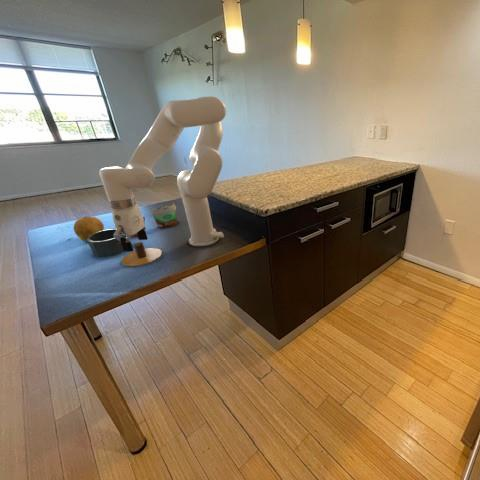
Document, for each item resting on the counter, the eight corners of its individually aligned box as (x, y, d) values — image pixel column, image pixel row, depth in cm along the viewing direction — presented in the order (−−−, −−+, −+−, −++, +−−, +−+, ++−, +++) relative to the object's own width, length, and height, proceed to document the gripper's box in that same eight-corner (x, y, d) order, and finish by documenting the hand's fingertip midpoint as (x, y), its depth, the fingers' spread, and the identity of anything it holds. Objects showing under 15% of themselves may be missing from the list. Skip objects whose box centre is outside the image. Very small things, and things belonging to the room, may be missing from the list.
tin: (137, 243, 115) (131, 228, 112) (119, 258, 104) (112, 241, 101) (107, 244, 115) (101, 228, 111) (86, 258, 103) (78, 242, 100)
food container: (162, 231, 127) (156, 211, 122) (155, 228, 130) (149, 209, 125) (185, 222, 136) (180, 204, 132) (178, 220, 139) (173, 202, 135)
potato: (76, 245, 113) (66, 224, 108) (81, 235, 122) (72, 215, 118) (105, 240, 118) (97, 220, 113) (108, 230, 127) (100, 211, 123)
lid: (168, 249, 110) (164, 236, 107) (151, 267, 98) (146, 252, 95) (135, 250, 110) (130, 236, 107) (114, 268, 98) (108, 253, 95)
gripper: (118, 211, 86) (133, 256, 93) (146, 196, 101) (157, 235, 109) (94, 211, 85) (111, 256, 93) (126, 195, 101) (139, 235, 108)
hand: (136, 245), depth 101 cm, fingers open, 9 cm apart
